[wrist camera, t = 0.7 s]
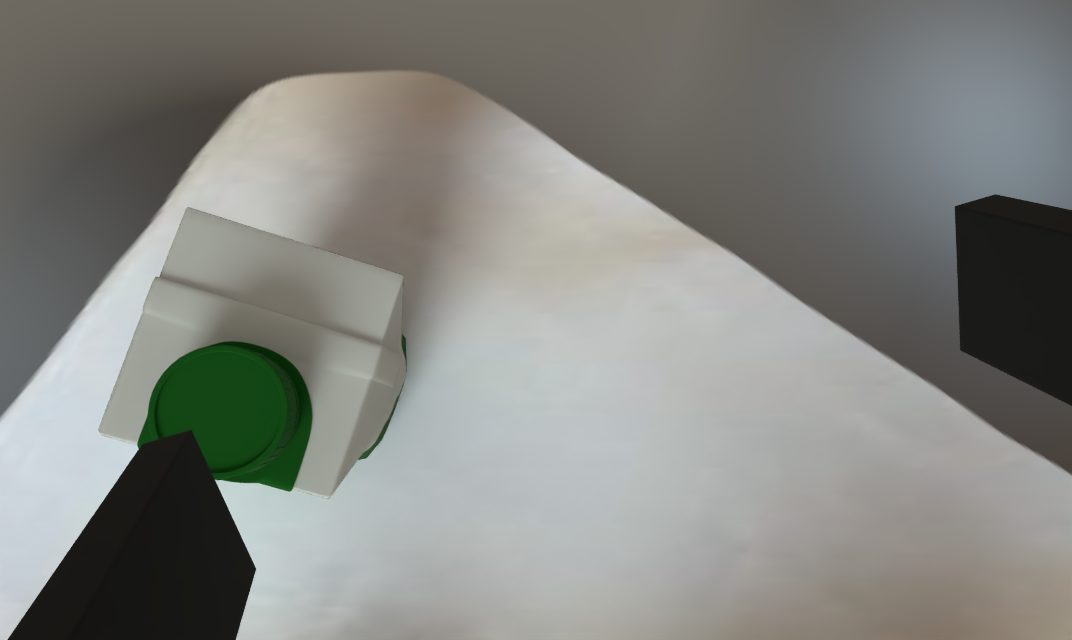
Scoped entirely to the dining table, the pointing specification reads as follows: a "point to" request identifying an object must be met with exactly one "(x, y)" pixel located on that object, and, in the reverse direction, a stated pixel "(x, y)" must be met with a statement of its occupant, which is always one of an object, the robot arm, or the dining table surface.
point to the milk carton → (263, 357)
